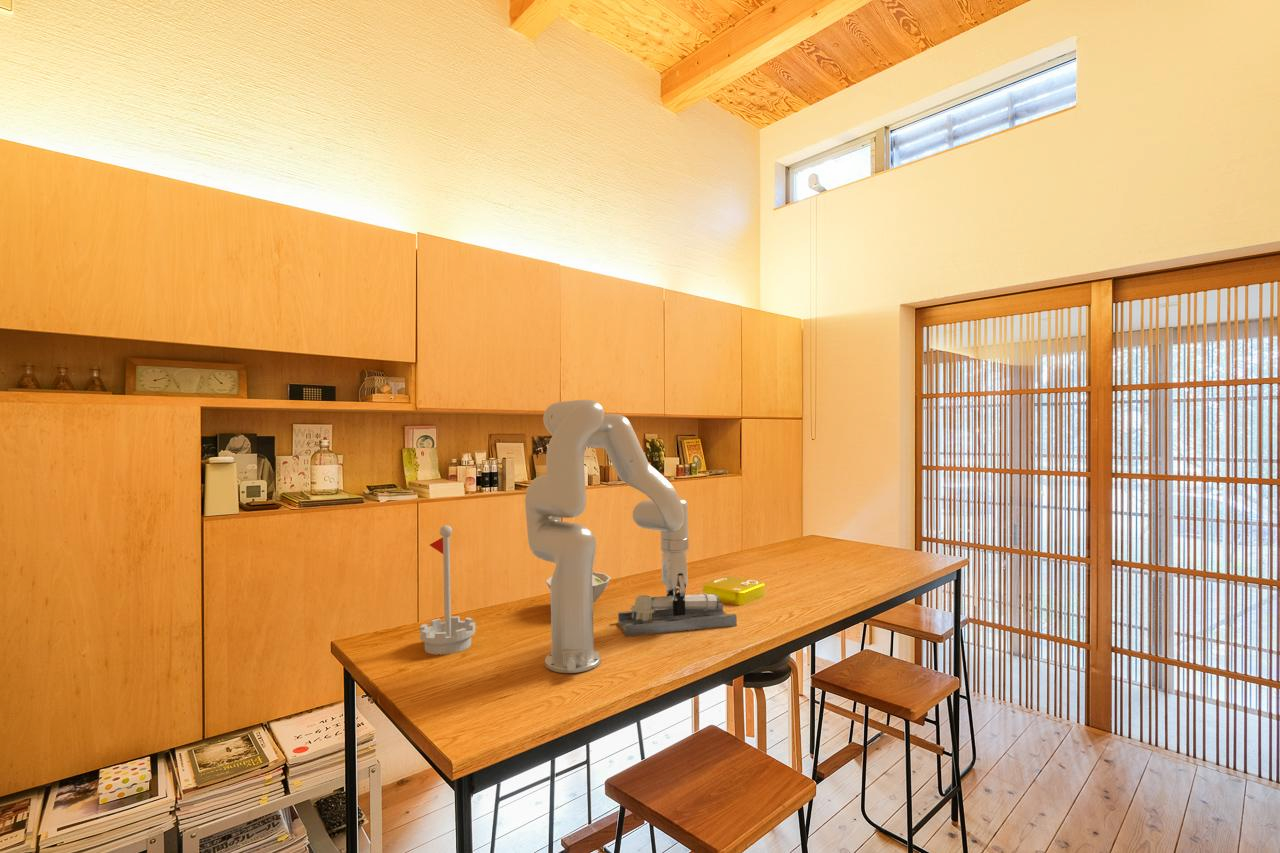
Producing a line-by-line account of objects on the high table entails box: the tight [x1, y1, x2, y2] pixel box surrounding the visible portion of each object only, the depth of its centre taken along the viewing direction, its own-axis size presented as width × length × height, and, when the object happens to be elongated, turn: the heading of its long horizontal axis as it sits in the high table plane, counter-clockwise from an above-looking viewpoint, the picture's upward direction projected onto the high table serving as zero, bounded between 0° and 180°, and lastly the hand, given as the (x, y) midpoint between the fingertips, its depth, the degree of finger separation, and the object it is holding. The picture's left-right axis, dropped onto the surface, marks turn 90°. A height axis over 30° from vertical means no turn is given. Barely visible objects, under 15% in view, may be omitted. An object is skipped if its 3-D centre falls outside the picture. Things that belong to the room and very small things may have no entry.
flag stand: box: [419, 524, 476, 656], centre depth 145 cm, size 13×13×30 cm
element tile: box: [702, 575, 766, 606], centre depth 184 cm, size 15×15×5 cm
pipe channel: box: [617, 602, 738, 638], centre depth 158 cm, size 11×30×3 cm, turn 103°
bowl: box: [545, 571, 611, 604], centre depth 173 cm, size 19×19×10 cm
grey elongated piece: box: [630, 592, 720, 621], centre depth 158 cm, size 5×7×25 cm
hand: (675, 611), depth 158 cm, fingers closed on grey elongated piece, 5 cm apart
